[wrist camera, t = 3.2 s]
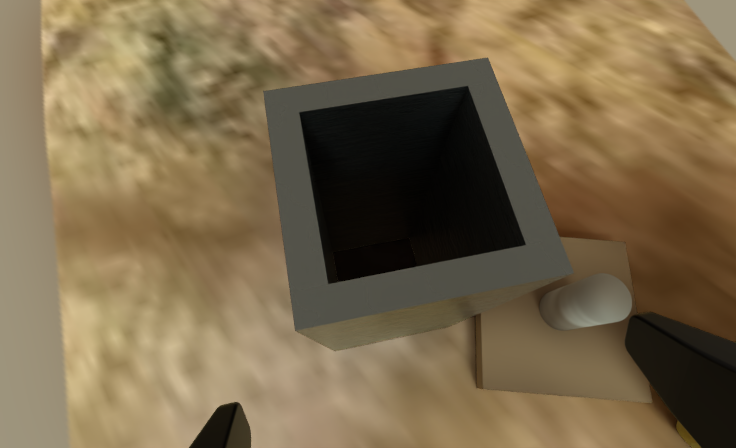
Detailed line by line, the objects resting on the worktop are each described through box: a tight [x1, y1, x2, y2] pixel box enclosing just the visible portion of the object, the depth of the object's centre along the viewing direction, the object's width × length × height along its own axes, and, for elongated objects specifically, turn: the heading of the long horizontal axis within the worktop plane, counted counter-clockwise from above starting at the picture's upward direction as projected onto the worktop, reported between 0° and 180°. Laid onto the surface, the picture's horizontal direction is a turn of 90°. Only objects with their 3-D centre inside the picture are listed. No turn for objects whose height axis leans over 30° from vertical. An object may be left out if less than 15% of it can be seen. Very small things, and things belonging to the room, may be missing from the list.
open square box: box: [263, 58, 574, 351], centre depth 15 cm, size 6×6×12 cm
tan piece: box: [475, 237, 652, 403], centre depth 18 cm, size 8×8×5 cm
